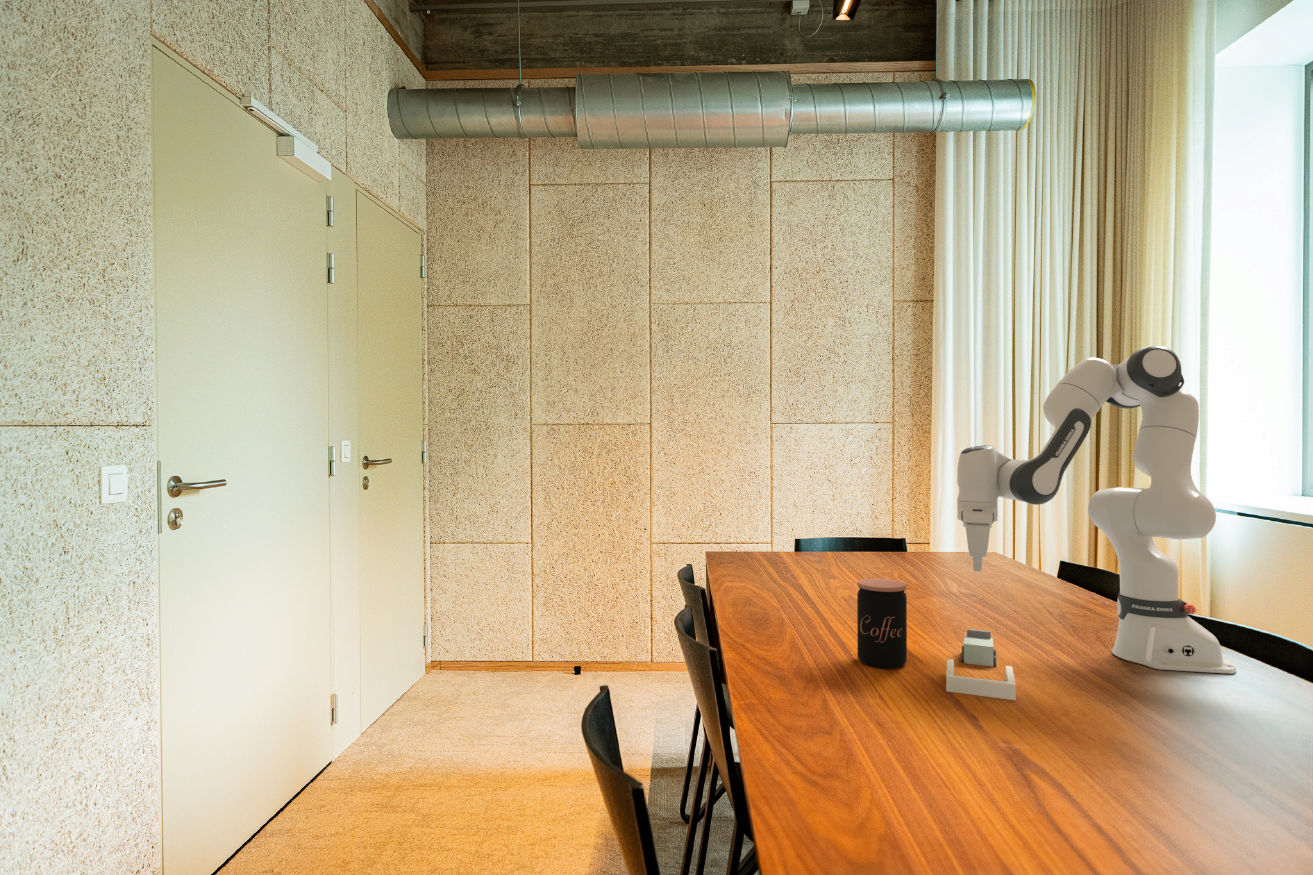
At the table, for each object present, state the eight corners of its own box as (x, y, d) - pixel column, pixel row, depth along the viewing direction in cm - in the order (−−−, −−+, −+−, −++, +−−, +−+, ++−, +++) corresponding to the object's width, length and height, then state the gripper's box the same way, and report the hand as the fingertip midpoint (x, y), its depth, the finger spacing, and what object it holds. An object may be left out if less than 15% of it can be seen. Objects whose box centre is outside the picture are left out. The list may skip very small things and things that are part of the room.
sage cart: (995, 657, 163) (995, 631, 163) (996, 667, 156) (996, 640, 156) (962, 653, 166) (961, 628, 166) (961, 663, 159) (960, 636, 159)
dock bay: (1012, 680, 147) (1012, 666, 147) (1015, 700, 136) (1015, 684, 136) (947, 673, 152) (947, 659, 152) (946, 691, 141) (946, 676, 141)
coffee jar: (852, 665, 157) (852, 584, 157) (862, 652, 166) (862, 576, 167) (903, 672, 152) (902, 589, 152) (910, 659, 161) (910, 580, 162)
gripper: (963, 508, 181) (963, 562, 180) (962, 516, 162) (962, 576, 162) (990, 509, 178) (990, 564, 178) (993, 517, 159) (993, 578, 159)
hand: (977, 570), depth 170 cm, fingers closed
